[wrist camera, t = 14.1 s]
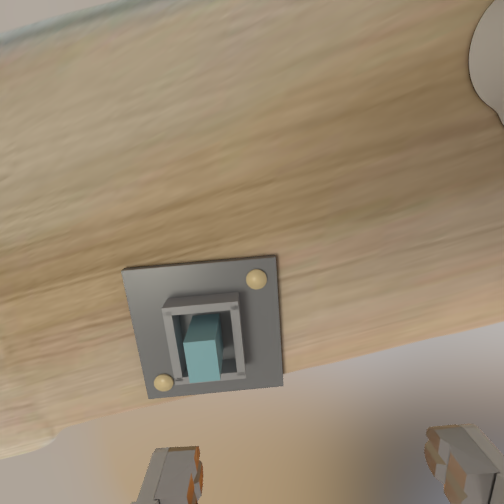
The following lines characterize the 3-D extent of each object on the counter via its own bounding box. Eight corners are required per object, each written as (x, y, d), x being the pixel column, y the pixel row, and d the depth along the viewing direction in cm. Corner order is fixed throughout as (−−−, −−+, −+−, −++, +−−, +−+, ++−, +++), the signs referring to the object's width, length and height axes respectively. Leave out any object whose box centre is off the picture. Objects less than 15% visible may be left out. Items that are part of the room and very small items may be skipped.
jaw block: (219, 313, 41) (215, 339, 34) (223, 348, 42) (220, 380, 36) (192, 315, 41) (183, 342, 34) (197, 350, 42) (189, 383, 36)
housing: (274, 255, 40) (278, 263, 36) (282, 380, 46) (286, 401, 41) (124, 268, 40) (110, 278, 35) (151, 393, 45) (141, 415, 41)
